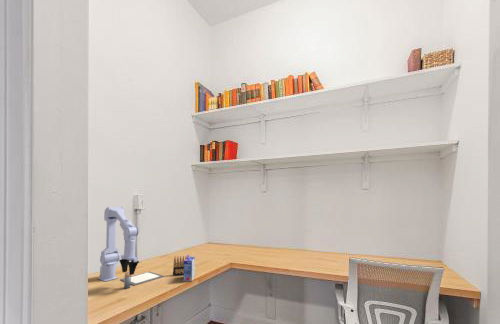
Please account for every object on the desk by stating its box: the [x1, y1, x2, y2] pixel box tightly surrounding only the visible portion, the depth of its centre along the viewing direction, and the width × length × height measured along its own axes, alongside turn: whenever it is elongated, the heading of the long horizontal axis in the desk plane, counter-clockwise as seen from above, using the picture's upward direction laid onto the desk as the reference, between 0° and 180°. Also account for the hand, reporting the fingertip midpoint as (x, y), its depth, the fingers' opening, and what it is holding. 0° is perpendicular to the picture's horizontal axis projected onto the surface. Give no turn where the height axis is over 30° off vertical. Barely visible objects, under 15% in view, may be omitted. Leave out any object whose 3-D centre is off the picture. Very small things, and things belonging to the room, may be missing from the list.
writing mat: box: [119, 271, 164, 286], centre depth 155 cm, size 16×20×1 cm
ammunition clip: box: [172, 255, 190, 277], centre depth 163 cm, size 11×2×12 cm, turn 100°
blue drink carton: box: [183, 254, 196, 282], centre depth 155 cm, size 10×6×14 cm, turn 2°
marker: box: [123, 271, 132, 290], centre depth 139 cm, size 3×3×8 cm
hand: (128, 273), depth 140 cm, fingers open, 7 cm apart
